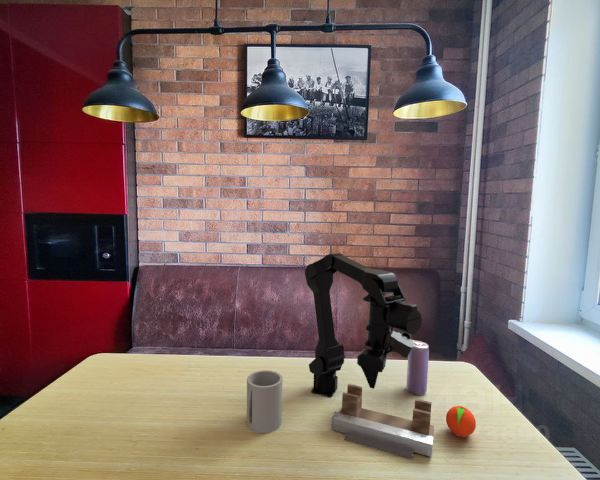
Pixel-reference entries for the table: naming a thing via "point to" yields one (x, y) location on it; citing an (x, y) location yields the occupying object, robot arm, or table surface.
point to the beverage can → (418, 368)
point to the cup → (264, 401)
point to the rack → (417, 424)
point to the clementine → (460, 421)
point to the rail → (383, 433)
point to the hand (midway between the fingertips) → (376, 379)
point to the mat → (379, 446)
